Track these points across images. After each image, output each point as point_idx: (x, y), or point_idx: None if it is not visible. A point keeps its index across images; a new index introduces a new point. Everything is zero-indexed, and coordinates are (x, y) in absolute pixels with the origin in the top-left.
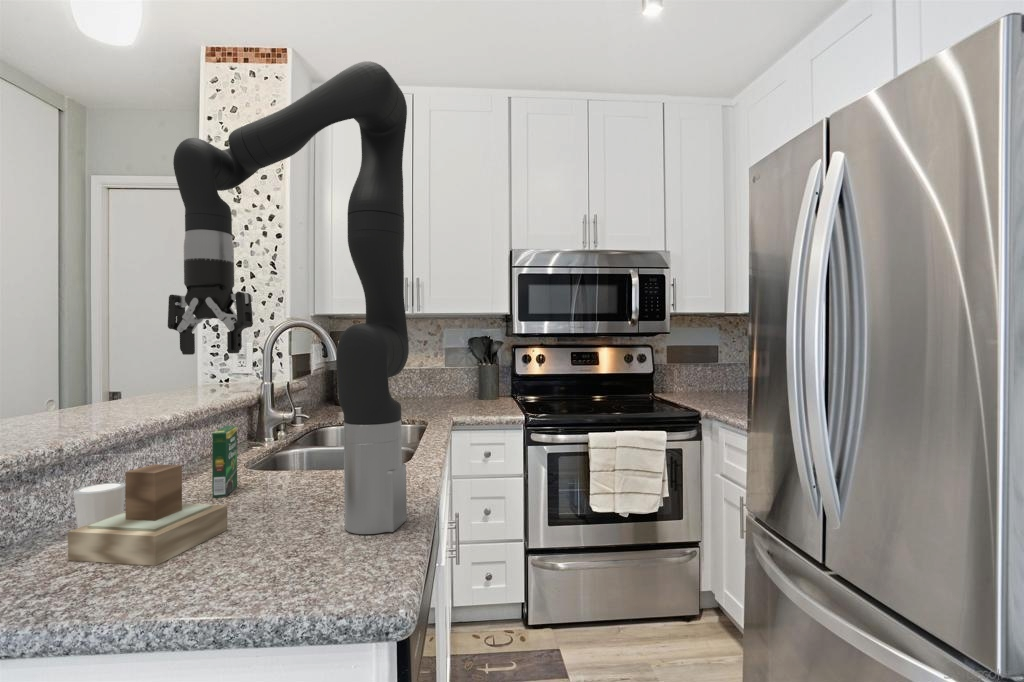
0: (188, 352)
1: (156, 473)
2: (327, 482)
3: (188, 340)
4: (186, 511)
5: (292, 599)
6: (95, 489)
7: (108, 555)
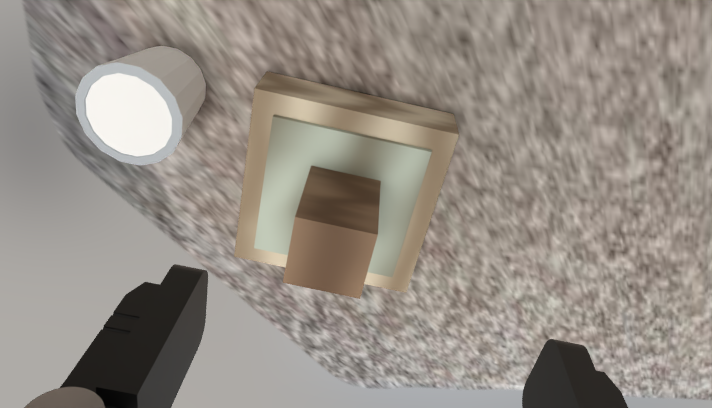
0: (202, 324)
1: (360, 294)
2: None
3: (167, 394)
4: (395, 190)
5: (635, 366)
6: (129, 129)
7: None
